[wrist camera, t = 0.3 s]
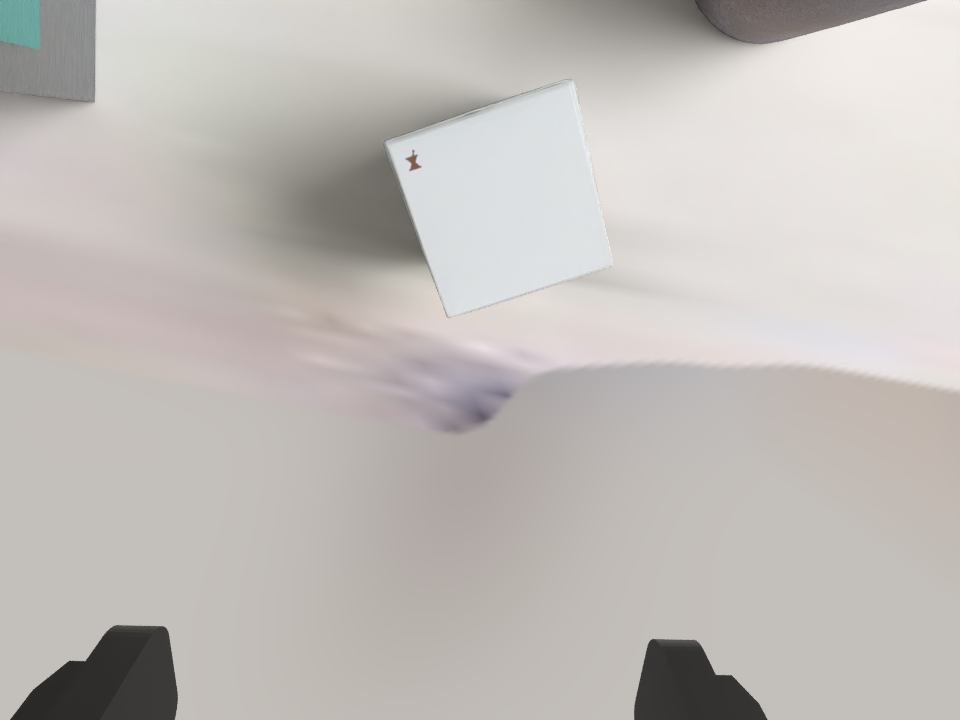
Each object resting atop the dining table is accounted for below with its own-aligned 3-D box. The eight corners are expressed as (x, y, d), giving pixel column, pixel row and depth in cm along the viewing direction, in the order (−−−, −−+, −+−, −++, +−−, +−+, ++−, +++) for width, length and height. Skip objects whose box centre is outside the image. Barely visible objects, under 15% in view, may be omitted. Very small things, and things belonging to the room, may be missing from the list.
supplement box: (444, 264, 36) (440, 324, 24) (403, 138, 33) (376, 136, 21) (562, 227, 35) (618, 270, 23) (530, 97, 33) (574, 71, 21)
